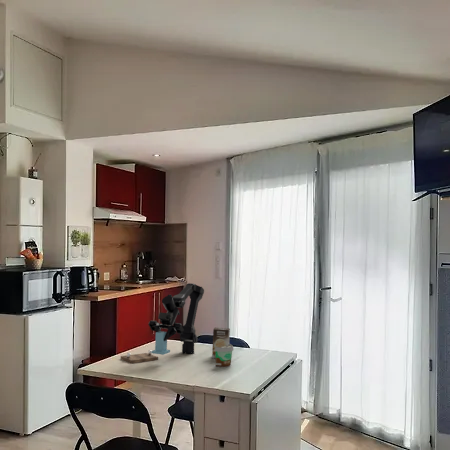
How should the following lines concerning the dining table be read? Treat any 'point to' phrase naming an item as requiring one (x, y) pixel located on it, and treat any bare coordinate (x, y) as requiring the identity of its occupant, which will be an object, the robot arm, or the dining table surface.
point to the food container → (224, 355)
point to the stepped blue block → (160, 344)
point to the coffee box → (220, 338)
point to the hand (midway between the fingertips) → (160, 340)
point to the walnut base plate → (139, 358)
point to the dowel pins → (148, 354)
